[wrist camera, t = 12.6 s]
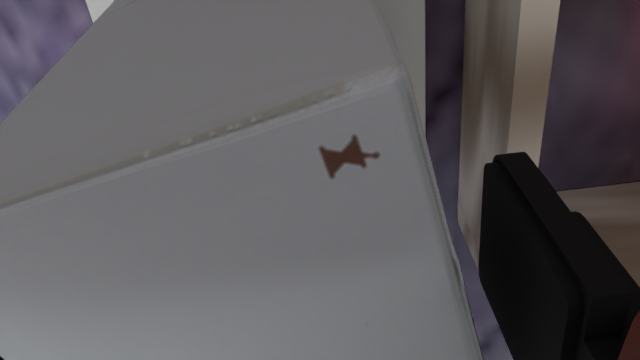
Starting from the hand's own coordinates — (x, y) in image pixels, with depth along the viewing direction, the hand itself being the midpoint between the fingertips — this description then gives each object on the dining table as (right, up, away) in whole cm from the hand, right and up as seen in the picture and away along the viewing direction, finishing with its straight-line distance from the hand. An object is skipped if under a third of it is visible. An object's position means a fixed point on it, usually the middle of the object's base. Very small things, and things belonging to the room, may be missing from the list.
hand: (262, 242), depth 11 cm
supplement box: (-1, +6, +8) cm, 10 cm away
